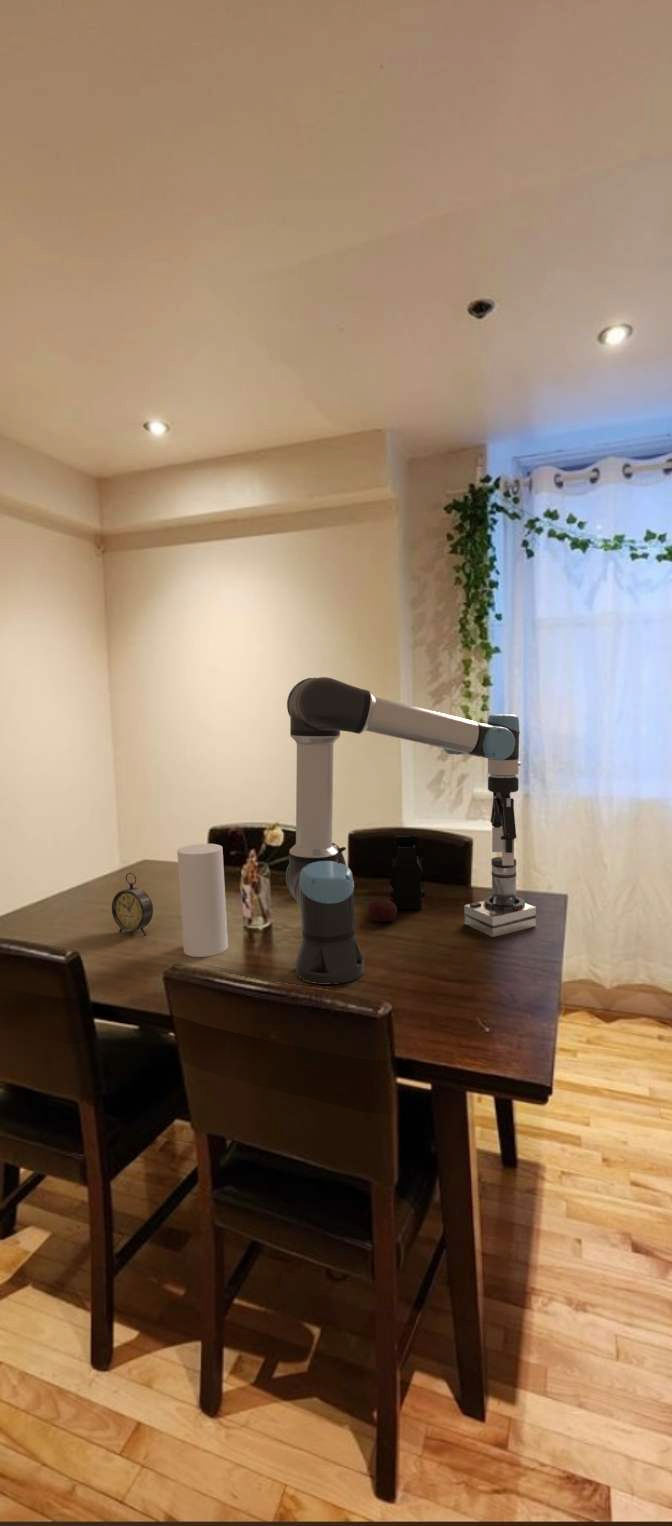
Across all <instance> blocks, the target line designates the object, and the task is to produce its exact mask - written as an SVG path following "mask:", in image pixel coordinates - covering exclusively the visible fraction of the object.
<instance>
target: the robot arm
mask: <svg viewBox="0 0 672 1526" xmlns="http://www.w3.org/2000/svg"><path fill="white" fill-rule="evenodd" d="M286 709H287V713H288V715H289V718H290V719H289V720H290V721H289V723H290V727H289V728H290V731H289V733H290V738H292V740H294V742H295V744H296V790H295V791H296V792H295V793H296V794H295V796H296V800H295V801H296V802H295V804H296V806H295V807H296V810H295V812H296V813H295V814H296V815H295V819H296V820H295V844H294V845H293V846H292V847H291V848H290V849H289V864H288V866H287V868H286V873H285V881H286V883H285V884H286V886H287V889H288V891H289V893H290V895H291V896H292V897H293V898H294V899H295V902H296V903H297V904H298V905H299V907H300V911H301V912H300V913H301V933H302V934H301V938H302V939H301V943H300V946H299V949H298V952H297V957H296V961H295V974H296V973H297V974H298V976H300V977H301V978H302V979H304V980H307V981H310V982H316V983H330V984H335V983H343V984H345V983H344V982H347V983H350V982H352V981H355V980H357V979H359V978H360V977H361V976H362V975H363V974H364V972H365V959H364V957H363V955H362V952H361V949H360V946H359V944H358V940H357V938H356V930H355V929H356V927H355V922H356V921H355V898H354V897H355V896H354V895H355V893H354V890H355V882H354V878H353V872H352V870H351V869H350V868H349V866H346V865H347V864H346V865H344V864H342V863H338V850H337V849H336V848H335V847H334V845H333V844H332V843H333V805H334V804H333V802H334V801H333V800H334V797H333V794H334V792H333V790H334V789H333V788H334V787H333V786H334V744H335V742H336V741H337V740H338V739H339V738H341V732H348V733H354V734H358V735H359V734H362V733H363V732H365V731H366V732H371V733H375V734H378V735H382V736H388V737H391V738H392V737H393V738H397V739H401V740H406V741H410V742H415V743H419V744H423V745H426V746H427V745H428V746H432V747H437V748H441V749H443V750H444V752H445V753H446V754H448V755H456V756H459V755H469V756H474V757H478V758H484V759H487V774H488V775H489V776H488V777H487V790H488V791H489V792H490V793H492V796H493V798H492V806H491V815H490V823H491V826H492V828H491V829H492V830H491V833H492V834H491V836H492V837H491V841H492V842H491V852H492V853H502V854H501V857H502V865H514V859H515V839H517V831H516V819H515V808H514V807H515V805H514V803H515V799H514V798H511V793H517V792H518V791H519V790H520V789H519V780H520V778H519V777H518V775H519V771H520V770H519V769H520V768H519V767H521V764H522V763H521V762H520V761H519V759H520V757H519V756H520V755H519V754H520V734H521V731H520V721H519V720H520V719H519V717H518V715H516V714H512V713H511V714H510V713H508V714H506V713H505V714H504V713H503V714H502V713H501V714H499V713H498V714H490V715H489V716H488V720H487V722H483V723H482V722H477V721H474V720H470V719H467V718H462V717H459V716H454V715H451V714H450V715H449V714H447V713H443V712H442V713H441V712H438V711H433V710H431V709H430V710H429V709H425V708H422V707H417V706H413V705H408V704H404V703H401V702H396V701H393V700H389V699H385V698H380V697H377V696H374V695H373V694H372V692H371V691H370V690H369V689H368V690H367V689H363V688H361V687H360V688H359V687H356V686H355V685H351V684H348V683H345V682H343V681H341V680H338V679H334V678H332V677H327V676H323V677H322V676H320V677H308V678H305V679H302V680H301V681H299V682H298V683H296V684H295V685H294V686H293V687H292V688H291V689H290V692H289V694H288V697H287V700H286ZM298 976H297V977H298ZM349 981H350V982H349Z"/></svg>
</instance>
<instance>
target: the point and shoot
mask: <svg viewBox="0 0 672 1526" xmlns="http://www.w3.org/2000/svg"><path fill="white" fill-rule="evenodd" d="M463 909H464V925H466V926H468V927H471V928H472V929H475V930H477V931H478V932H480V933H484V934H485V935H486V936H487V935H488V936H490V937H492V938H495V937H498V936H502V935H506V934H511V933H514V932H518V931H522V930H527V929H530V928H534V927H536V926H537V920H536V919H537V917H536V916H537V913H536V911H537V910H536V909H537V907H536V906H534V905H531V904H528V903H526V901H525V900H524V898H522V897H520V896H517V895H516V904H515V905H497V904H493V903H492V895H488V896H486V897H485V898H484V899H483V900H482V901H476V902H472V903H468V904H465V905H464V908H463Z"/></svg>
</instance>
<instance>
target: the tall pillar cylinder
mask: <svg viewBox="0 0 672 1526" xmlns="http://www.w3.org/2000/svg"><path fill="white" fill-rule="evenodd" d="M223 849H224V848H223V846H222V845H220V844H216V843H194V844H189V845H185V846H182V847H179V848H178V849H177V851H176V853H177V868H178V882H179V897H180V915H181V929H182V930H181V931H182V945H183V953H184V954H185V955H187V956H189V957H193V958H194V957H196V958H206V957H207V958H208V957H213V956H217V955H219V954H221V953H223V952H225V951H226V950H227V949H228V947H229V939H228V926H227V925H228V924H227V923H228V922H227V921H228V920H227V906H226V905H227V904H226V903H227V902H226V886H225V870H224V853H223V852H224V851H223Z"/></svg>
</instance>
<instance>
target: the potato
mask: <svg viewBox="0 0 672 1526" xmlns="http://www.w3.org/2000/svg"><path fill="white" fill-rule="evenodd" d="M397 914H398V909H397V907H396V905H395V904H394V901H392V900H389V899H386V898H376V899H374V900H373V901H372V900H371V902H370V903H369V905H368V908H367V915H368V917H369V918H370V919H371V920H373V921H375V922H379V923H388V922H390V921H393V920H394V919H395V918H396V916H397Z"/></svg>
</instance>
